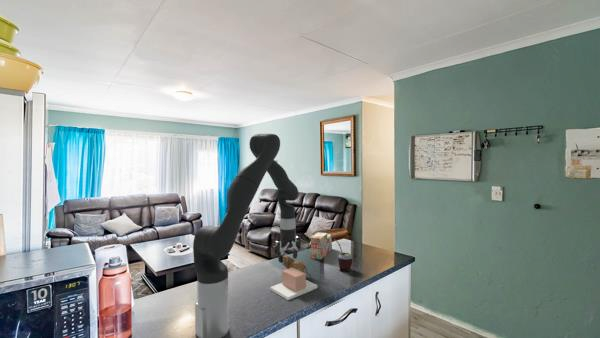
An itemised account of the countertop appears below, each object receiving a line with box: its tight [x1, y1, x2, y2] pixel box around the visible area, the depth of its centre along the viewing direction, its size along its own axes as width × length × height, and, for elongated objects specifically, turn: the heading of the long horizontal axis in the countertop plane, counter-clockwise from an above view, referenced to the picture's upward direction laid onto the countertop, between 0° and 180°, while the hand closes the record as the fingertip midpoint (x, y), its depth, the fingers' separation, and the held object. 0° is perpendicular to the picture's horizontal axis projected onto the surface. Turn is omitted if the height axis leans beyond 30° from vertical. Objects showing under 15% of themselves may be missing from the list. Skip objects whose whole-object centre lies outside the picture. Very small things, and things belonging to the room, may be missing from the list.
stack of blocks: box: [310, 231, 333, 261], centre depth 160 cm, size 21×6×12 cm, turn 157°
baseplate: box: [269, 279, 318, 301], centre depth 114 cm, size 16×12×1 cm
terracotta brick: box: [281, 268, 307, 292], centre depth 114 cm, size 6×9×6 cm, turn 41°
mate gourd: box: [334, 238, 353, 274], centre depth 134 cm, size 8×8×15 cm
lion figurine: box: [281, 255, 312, 278], centre depth 128 cm, size 15×5×9 cm, turn 75°
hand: (288, 260), depth 130 cm, fingers open, 8 cm apart
